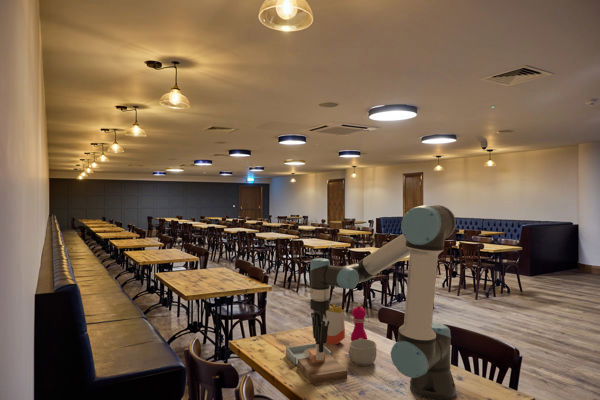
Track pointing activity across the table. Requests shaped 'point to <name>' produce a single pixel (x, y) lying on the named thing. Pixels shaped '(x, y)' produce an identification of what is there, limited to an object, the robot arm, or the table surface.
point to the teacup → (363, 351)
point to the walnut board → (322, 370)
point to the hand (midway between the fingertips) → (319, 359)
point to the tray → (301, 352)
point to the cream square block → (308, 352)
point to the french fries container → (335, 325)
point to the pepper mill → (358, 323)
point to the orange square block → (314, 356)
